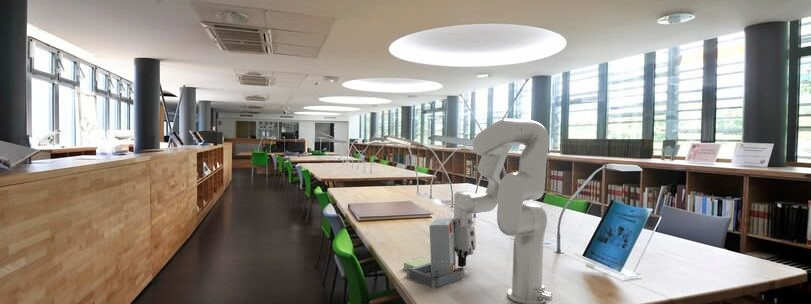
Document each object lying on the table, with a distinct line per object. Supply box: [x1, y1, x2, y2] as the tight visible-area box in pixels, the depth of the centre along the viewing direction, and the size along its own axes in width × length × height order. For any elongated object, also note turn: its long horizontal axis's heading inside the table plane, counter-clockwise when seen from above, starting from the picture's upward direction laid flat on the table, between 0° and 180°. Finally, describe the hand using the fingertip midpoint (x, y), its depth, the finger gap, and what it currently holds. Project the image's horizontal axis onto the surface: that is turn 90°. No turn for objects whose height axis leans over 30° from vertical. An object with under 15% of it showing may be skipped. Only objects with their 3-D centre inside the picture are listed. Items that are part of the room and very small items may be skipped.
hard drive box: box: [429, 217, 457, 278], centre depth 151 cm, size 16×8×20 cm, turn 165°
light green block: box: [403, 257, 431, 271], centre depth 155 cm, size 7×10×3 cm
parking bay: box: [406, 263, 463, 289], centre depth 145 cm, size 15×14×3 cm
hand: (461, 265), depth 156 cm, fingers closed
